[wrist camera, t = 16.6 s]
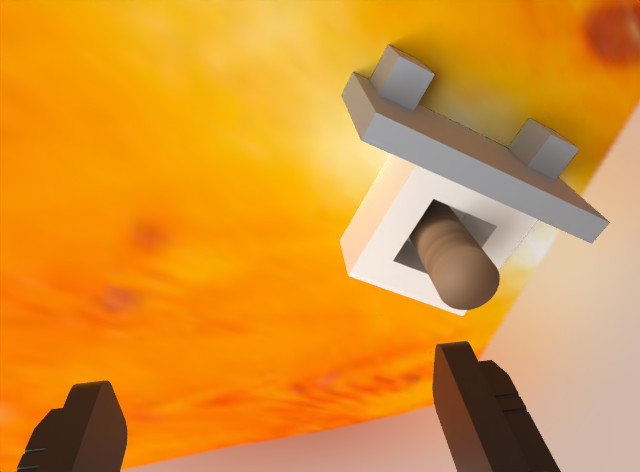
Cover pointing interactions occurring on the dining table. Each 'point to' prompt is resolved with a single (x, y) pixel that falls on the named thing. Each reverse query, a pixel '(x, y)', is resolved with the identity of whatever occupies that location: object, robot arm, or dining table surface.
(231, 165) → the dining table surface
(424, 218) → the dowel
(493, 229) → the socket
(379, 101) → the backstop
